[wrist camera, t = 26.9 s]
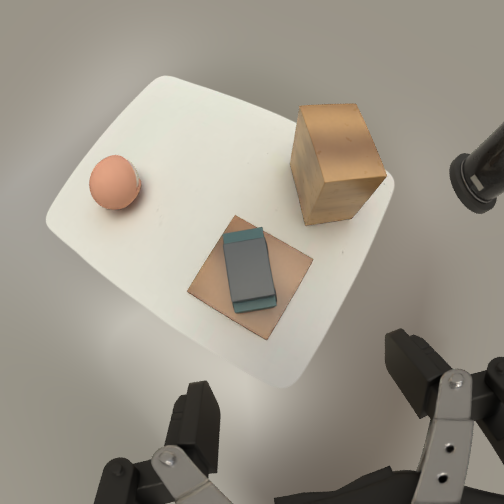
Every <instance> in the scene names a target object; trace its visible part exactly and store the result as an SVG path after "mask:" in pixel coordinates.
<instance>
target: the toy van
mask: <svg viewBox="0 0 504 504" xmlns="http://www.w3.org/2000/svg"><path fill="white" fill-rule="evenodd" d="M223 241H224V244H223V250H224V257H225V264H226V270H227V277H228V283H229V289H230V296H231V301H232V305H233V308H234V312H235V313H238V314H239V313H245V312H251V311H257V310H263V309H268V308H274V307H275V306H277V304H276V302H277V295H276V290H275V288H274V283H273V278H272V272H271V267H270V262H269V256H268V255H269V253H268V247H267V242H266V240H265V237H264V233H263V228H262V227H260V228H254V229H248V230H242V231H236V232H231V233H225V234H223Z"/></svg>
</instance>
